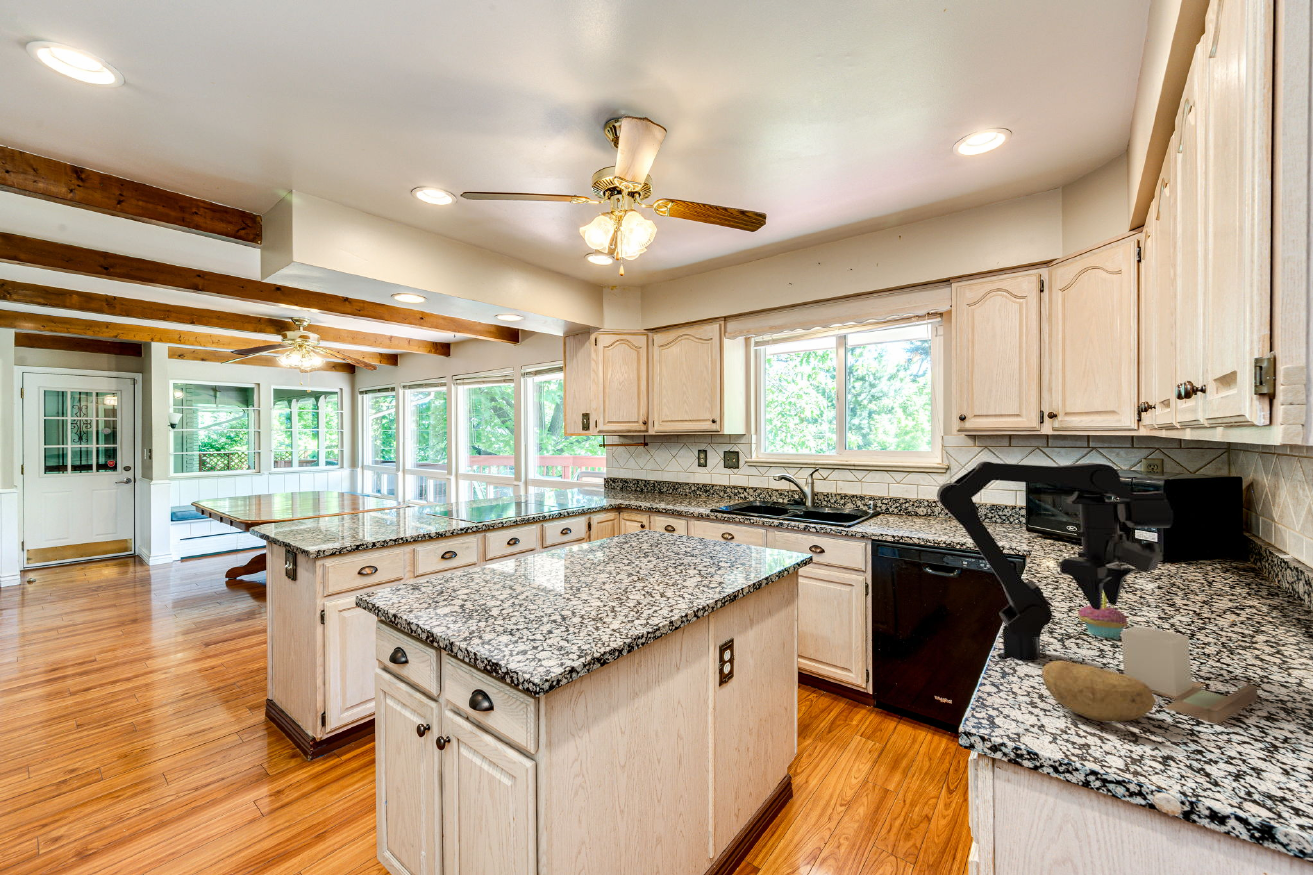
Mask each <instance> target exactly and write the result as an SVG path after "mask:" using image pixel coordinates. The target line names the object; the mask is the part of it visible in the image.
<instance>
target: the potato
mask: <svg viewBox="0 0 1313 875" xmlns="http://www.w3.org/2000/svg"><path fill="white" fill-rule="evenodd" d="M1041 674H1042V681H1043V683H1044V686H1045V688H1046V689H1047V691H1048V692H1049V694H1050V695H1051V697H1052V698H1054V700H1056V702H1058V703H1059V704H1061V705H1062V706H1063V707H1065V708H1066V709H1067V710H1069V711H1071V712H1073V713H1075V714H1077V715H1079V716H1081V717H1084V718H1086V719H1089V720H1092V721H1097V722H1101V723H1102V722H1105V723H1113V722H1115V723H1117V722H1127V721H1133V720H1137V719H1139V718H1140V719H1141V717H1143V716H1145V715H1146V714H1148V713H1150V712H1151V711H1153V708H1154V706H1155V704H1156V699H1155V698H1154V695H1153V692H1151V690H1150V688H1149V687H1148V686H1147V685H1146V684H1145V683H1143V682H1141V681H1139V680H1137V679H1134V678H1132V677H1130V676H1128V675H1124V673H1123V674H1122V673H1118V672H1114V671H1112V670H1107V669H1104V668H1100V667H1096V666H1092V665H1085V664H1079V663H1075V662H1071V661H1065V660H1052V661H1050V662H1048V663H1046V664H1044V666H1043V668H1042V670H1041Z"/></svg>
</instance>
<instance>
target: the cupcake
mask: <svg viewBox="0 0 1313 875" xmlns="http://www.w3.org/2000/svg"><path fill="white" fill-rule="evenodd" d="M1107 602H1108V600H1107V598H1106V596H1105V593H1104V591H1103V593H1102V604H1101V609H1100V610H1096V609H1093V608H1092V606H1091V605H1090V604H1089V605H1086V606H1085V607H1082V608H1081V609H1079V610H1078V612H1077V617H1078V619H1079V621H1080V622H1082V623H1084V624H1085V626H1086V628H1087V631H1088V633H1089V634H1091V635H1093V636H1097V637H1100V638H1107V639H1108V638H1109V639H1115V640H1120V636H1121V631H1123V629H1125V627H1127V626H1128V620H1127V616H1126V615H1125V614H1124V613H1122V612H1121V611H1119V610H1118V609H1116V608H1114V607H1110V606H1109V607H1108V606H1107Z"/></svg>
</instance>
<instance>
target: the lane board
mask: <svg viewBox="0 0 1313 875" xmlns="http://www.w3.org/2000/svg"><path fill="white" fill-rule="evenodd" d="M1191 682H1192V689H1190V690H1188V691H1187V692H1185V693H1183V694H1181V695H1179V696H1177V697H1174V696H1171V695H1168V694H1164V693H1161V692H1158V691H1154V690H1151V689H1150V690H1151V693H1152V694H1153V693H1154V694H1156V695H1159V696H1163V697H1167V698H1169V699H1173V700H1174V701H1173V702H1171V703H1169V704H1167V705H1165V706H1164V707H1163V708H1164V709H1166V710H1170V711H1173V712H1175V713H1180V714H1183V715H1185V716H1189V717H1192V718H1195V719H1198V720H1201V721H1204V722H1207V723H1211V724H1214V725H1219V724H1220V723H1223V722H1225V721H1226V720H1227V719H1228V718H1230V717H1231V716H1234V715H1235V714H1236V713H1238V712H1240V711H1241V710H1243V709H1244V708H1246V707H1248V705H1250V704H1252V703H1254V702H1255V701H1257V700H1258V698H1259V697H1258V686H1257V685H1253V684H1249V683H1248V684H1246V685H1244V686H1242V687H1241V688H1239V689H1238V690H1235V691H1234V692H1232V693H1230V694H1229V695H1227V696H1226V695H1224V694H1223V695H1222V694H1220V693H1215V692H1212V691H1209V690H1204V689H1203V688H1202V687H1204V686H1206V683H1202V682H1199V681H1194V680H1192V679H1191ZM1201 688H1202V689H1201Z"/></svg>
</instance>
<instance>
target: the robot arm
mask: <svg viewBox="0 0 1313 875" xmlns="http://www.w3.org/2000/svg"><path fill="white" fill-rule="evenodd" d="M1120 475H1121V474H1119V472H1118V470H1116V468H1115V467H1114V466H1112V465H1109V464H1105V463H1100V462H1099V463H1097V462H1084V463H1072V464H1063V465H1056V466H1055V465H1052V466H1051V465H1040V464H1039V465H1038V464H1019V463H1002V462H1000V463H999V462H992V461H986V460H985V461H981V462H979V463H977V464H976V465H975V467H973V468H972V469H971V470H969V471H967V472H966V473H964V474H963V475H961V476H960V477H958V478H957V479H956V480H955V481H953V482H946V483H944V484H942V485H940V486H939V488H938V490H937V492H936V498H937V500H938V502H939V503H940V505H941V506H942V507H943V508H944V509H945V510H946V511H947V512H948V513H949V514H950V515H951V516H952V517H953V518H954V519H955V520H956V521H957V522H958V523H959V524H960V525H961V527H962V528H963V529H964V530H965V532H966V533H967V535H968V536H969V538H970V539H971V541H972V542H973V544H974V545H975V547H976V548H977V550H979V552H980V554H981V555H982V557H983V558H984V560H985V561H986V563H987V565H988V566H989V567H990V568H991V570H992V571H993V573H994V574H995V576H996V577H997V580H999V582H1000V584H1001V585H1002V588H1003V590H1004V593H1005V596H1006V598H1007V600H1008V603H1009V604H1008V605H1007V606H1006V607H1004V608H1003V609H1002V610H1001V611H999V612H998V614H999V616H1000V619H1001V621H1002V622H1003V623H1004V626H1003V629H1002V637H1003V638H1002V640H1003V643H1002V644H1003V652H1000V653H997V654H996V656H997V657H998V658H1000V659H1003V660H1008V659H1013V660H1017V661H1020V662H1022V661H1027V662H1028V661H1029V662H1030V661H1031V662H1032V661H1038V660H1039V658H1040V656H1041V641H1040V640H1041V639H1040V637H1041V635H1042V631H1043V629H1044V627H1046V626H1047V625H1049V623H1050V622H1051V621H1052V617H1053V612H1052V609H1051V607H1052V606H1053V604H1052V603H1051V602H1050V601H1049V600H1048V599H1047V598H1046V597H1045V596H1044V594H1043V591H1042V590H1041V588H1040V586H1039V585H1038V584H1037V583H1035V581H1033V580H1032V579H1029V580H1028V581H1025V580H1024V579H1023V578H1021V575H1020V574H1019V572H1018V571H1017V570H1016V569H1015V567H1014V566H1013V564H1012V563H1011V562H1010V560H1009V559H1008V557H1007V556H1006V554H1005V553H1004V551H1003V550H1002V549H1001V547H1000V545H999V544H998V542H997V541H996V540H995V538H994V537H993V535H992V534H991V533H990V532H989V530H988V528H987V527H986V526H985V524H984V523H983V521H982V520H981V518H980V515H979V513H978V509H977V507H976V505H975V503H974V500H973V498H974V497H975V496H976V495H977V494H979V493H980V492H981V491H982V490H983V489H984V488H985V487H986V486H987V485H988V484H990V483H991V482H992V481H1003V482H1014V483H1015V482H1016V483H1017V482H1018V483H1029V484H1030V483H1031V484H1033V483H1034V484H1045V485H1046V484H1047V485H1059V486H1062V487H1063V486H1064V487H1069V488H1073V489H1078V490H1083V491H1087V492H1092V493H1097V494H1098V495H1097V494H1095V495H1093V494H1092V495H1091V494H1090V495H1088V494H1087V495H1086V494H1085V495H1084V494H1083V492H1081V491H1075V492H1074V493H1073V494H1072V495H1071V496H1070V497H1068V498H1067V499H1066V502H1067V503H1068V504H1072V505H1079V514H1080V515H1079V516H1080V530H1078V531H1076V537H1078V538H1081V545H1082V546H1081V547H1082V551H1078V552H1077V556H1071V557H1067V558H1064V559H1062V560H1061V561H1060V562H1059V573H1061V574H1065V575H1068V576H1070V577H1072V579H1073V580H1074V581H1075V583H1076V584H1077V586H1078V587H1079V589H1080V590H1081V591H1082V593H1083V595H1084V596H1085V598H1086V600H1087V601H1088V603H1089V606H1090V605H1091V606H1092V608H1093V609H1096V610H1100V609H1101V605H1102V604H1103V591H1104V593H1105V596H1106V598H1107V602H1108V604H1110V605H1117V604H1118V600H1119V597H1120V595H1121V590H1122V588H1123V584H1124V581H1125V579H1126V578H1127V577H1128V576H1130V575H1131V574H1133V573H1135V572H1137V571H1139V572H1142V573H1149V572H1150V571H1156V569H1157V567H1158V565H1159V563H1160V561H1163V560H1164V558H1163V556H1162V555H1163V552H1161V551H1160V550H1161V548H1160V544H1158V543H1156V542H1153V541H1150V540H1149V541H1145V542H1143V543H1141V544H1140V545H1139V543H1138V542H1135V543H1133V542H1131V541H1128V540H1127V535H1126V534H1125V532H1123V531H1120V526H1119V520H1120V522H1122V523H1125V524H1126V525H1127V527H1129V528H1147V529H1149V528H1152V529H1153V528H1154V529H1155V528H1156V529H1157V528H1158V529H1159V528H1160V529H1161V528H1163V529H1167V528H1171V527H1172V526H1173V523H1174V517H1175V516H1174V510H1172V507H1171V504H1170V502H1169V500H1168V499H1167V498H1166V493H1165V492H1164V491H1148V492H1133V491H1132V490H1131V489H1130V488H1128V487H1127V485H1126V484H1124V482H1123V481H1121V476H1120ZM1099 494H1101V495H1099ZM1102 494H1103V495H1105V496H1109V497H1113V498H1117V499H1113V500H1112V499H1105V497H1104V496H1103V495H1102ZM1128 566H1130V567H1131V568H1130V567H1128ZM1132 567H1133V568H1132ZM1050 606H1051V607H1050Z"/></svg>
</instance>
